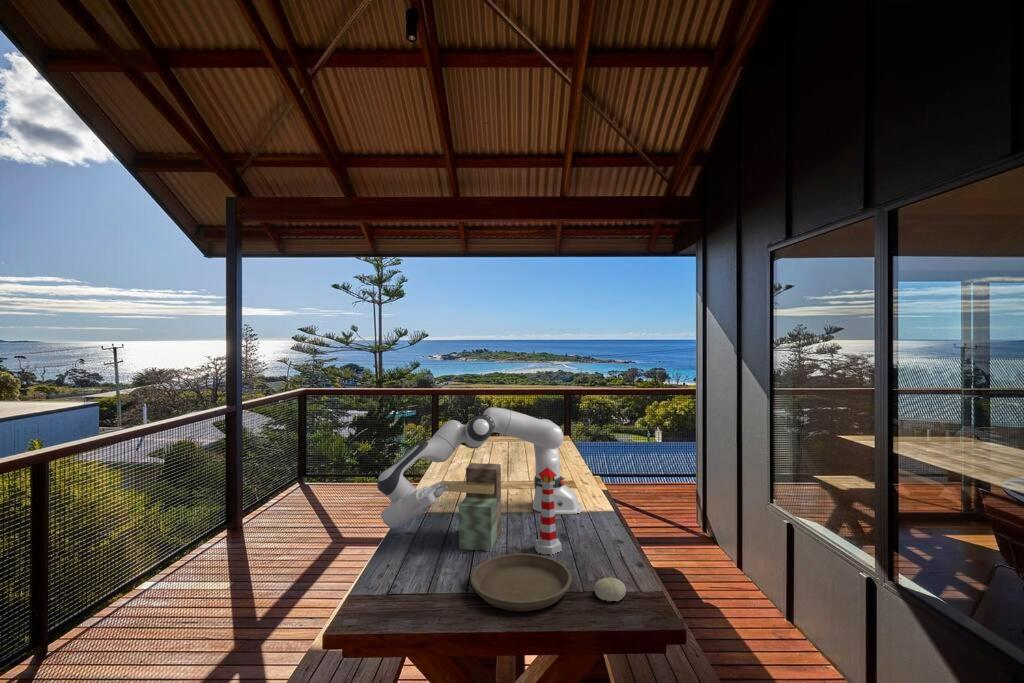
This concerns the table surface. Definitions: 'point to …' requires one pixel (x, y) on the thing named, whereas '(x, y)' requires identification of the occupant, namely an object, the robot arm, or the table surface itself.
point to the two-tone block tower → (481, 509)
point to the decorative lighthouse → (547, 517)
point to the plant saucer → (521, 581)
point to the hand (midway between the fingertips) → (449, 485)
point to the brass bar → (468, 487)
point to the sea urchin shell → (610, 589)
